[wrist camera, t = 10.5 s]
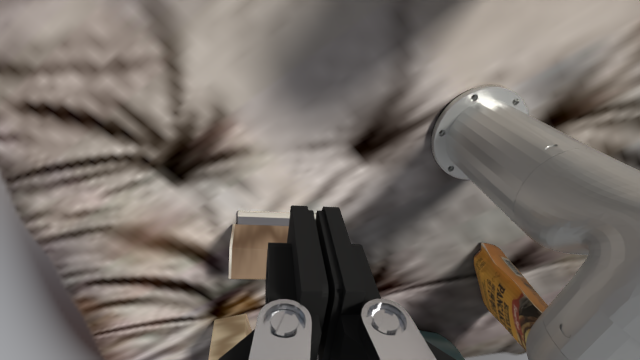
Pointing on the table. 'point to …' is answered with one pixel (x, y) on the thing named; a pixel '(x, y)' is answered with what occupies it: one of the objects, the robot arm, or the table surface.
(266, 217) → the grey rectangular panel
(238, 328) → the oak block
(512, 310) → the pancake mix bag
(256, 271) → the walnut block
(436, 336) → the flower pot
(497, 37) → the table surface
